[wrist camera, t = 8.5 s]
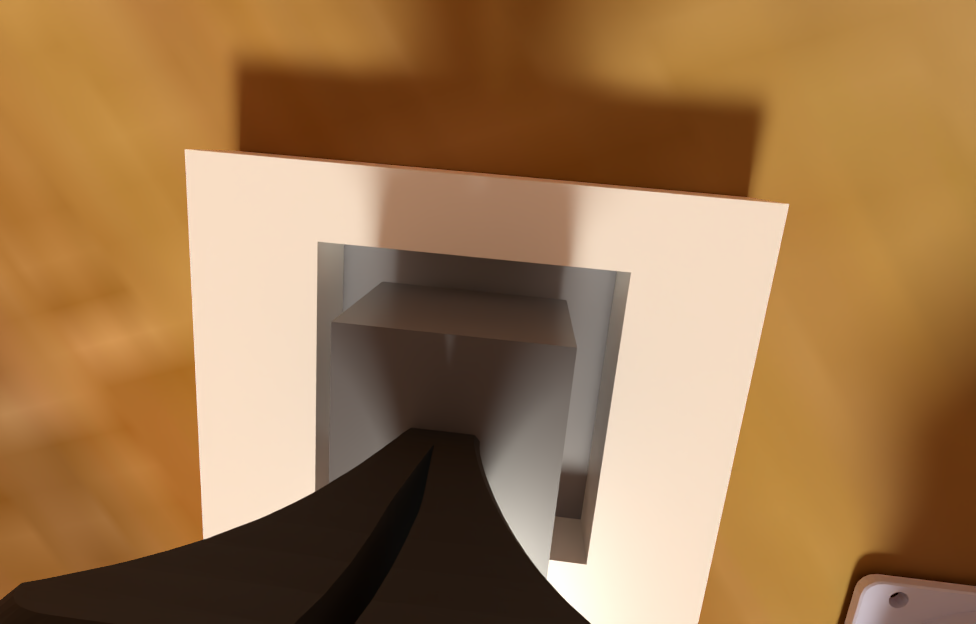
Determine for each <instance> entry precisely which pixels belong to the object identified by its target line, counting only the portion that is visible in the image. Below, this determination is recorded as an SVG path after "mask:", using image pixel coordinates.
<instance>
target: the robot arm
mask: <svg viewBox="0 0 976 624" xmlns="http://www.w3.org/2000/svg"><path fill="white" fill-rule="evenodd" d="M479 447H480V441H479V440H478V438H477V437H476V436H475V435H471V434H462V433H454V432H445V431H436V430H427V429H419V428H410V429H408V430H407V431H405V432H404V433H402V434H401V435H400V436H398V437H397V438H396V439H394V440H393V441H391V442H390V443H389V444H387V445H386V446H385V447H383V448H382V449H381V450H379V451H378V452H376V453H375V454H373V455H372V456H371V457H369V458H368V459H366V460H365V461H363V462H362V463H361V464H359V465H358V466H356V467H355V468H353V469H351V470H350V471H348V472H347V473H345V474H343V475H342V476H340V477H338V478H337V479H335V480H333V481H332V482H330V483H329V484H327V485H325V486H324V487H322V488H320V489H319V490H317V491H315V492H313V493H312V494H310V495H308V496H306V497H304V498H302V499H300V500H298V501H296V502H294V503H292V504H290V505H288V506H286V507H284V508H282V509H280V510H277V511H275V512H273V513H271V514H269V515H267V516H264V517H262V518H260V519H257V520H255V521H252V522H249V523H247V524H244V525H241V526H239V527H236V528H233V529H231V530H228V531H225V532H223V533H220V534H217V535H215V536H212V537H210V538H207V539H204V540H201V541H198V542H195V543H191V544H188V545H185V546H182V547H178V548H175V549H172V550H169V551H165V552H161V553H157V554H154V555H150V556H146V557H143V558H139V559H135V560H131V561H127V562H123V563H119V564H115V565H111V566H106V567H101V568H96V569H91V570H86V571H81V572H76V573H72V574H67V575H62V576H57V577H52V578H47V579H42V580H36V581H31V582H25V583H21V584H20V585H19V586H17V587H16V588H15V589H14V590H12V591H11V592H10V593H9V594H7V595H6V596H5V597H4V598H3V599H1V600H0V624H591V623H590V622H589V621H588V620H586V619H585V618H584V617H583V616H582V615H581V614H580V613H579V612H578V611H577V610H576V609H575V608H573V607H572V606H571V605H570V604H569V603H568V602H567V601H566V600H565V599H564V598H563V597H562V596H561V595H560V594H559V593H558V591H557V590H556V589H555V588H554V587H553V586H552V585H551V584H550V582H549V581H548V580H547V579H546V578H545V577H544V576H543V575H542V574H541V572H540V571H539V570H538V568H537V567H536V566H535V564H534V563H533V562H532V560H531V559H530V558H529V556H528V555H527V554H526V552H525V551H524V549H523V548H522V546H521V545H520V543H519V542H518V540H517V539H516V537H515V535H514V534H513V532H512V530H511V529H510V527H509V525H508V523H507V522H506V520H505V518H504V516H503V514H502V512H501V510H500V508H499V506H498V504H497V502H496V499H495V497H494V495H493V492H492V490H491V487H490V485H489V482H488V480H487V477H486V474H485V471H484V468H483V464H482V460H481V456H480V450H479ZM896 592H899V593H898V595H896V596H895V597H891V598H890V596H891V595H892V594H894V593H896ZM844 624H976V586H970V585H962V584H954V583H946V582H938V581H930V580H922V579H914V578H906V577H898V576H890V575H882V574H870V575H867V576H865V577H863V578H862V579H860V580H859V581H858V583H857V584H856V586H855V589H854V593H853V596H852V599H851V603H850V606H849V609H848V613H847V616H846V620H845V623H844Z"/></svg>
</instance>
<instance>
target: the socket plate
mask: <svg viewBox="0 0 976 624" xmlns="http://www.w3.org/2000/svg"><path fill="white" fill-rule="evenodd" d="M185 163H186V184H187V205H188V226H189V247H190V268H191V289H192V310H193V331H194V351H195V372H196V393H197V414H198V435H199V456H200V477H201V498H202V519H203V540H204V539H207V538H210V537H212V536H215V535H217V534H220V533H223V532H225V531H228V530H231V529H233V528H236V527H239V526H241V525H244V524H247V523H249V522H252V521H255V520H257V519H260V518H262V517H264V516H267V515H269V514H271V513H273V512H275V511H277V510H280V509H282V508H284V507H286V506H288V505H290V504H292V503H294V502H296V501H298V500H300V499H302V498H304V497H306V496H308V495H310V494H312V493H313V492H315V491H317V490H319V489H320V488H322V487H324V486H325V485H327V484H329V433H330V367H331V322H332V321H333V320H334V319H335V318H337V317H338V316H339V315H340V314H342V313H343V312H344V311H346V310H347V309H348V308H349V307H351V306H352V305H353V304H354V303H356V302H357V301H358V300H359V299H361V298H362V297H363V296H365V295H366V294H367V293H368V292H370V291H371V290H372V289H373V288H375V287H376V286H377V285H379V284H380V283H381V282H382V281H383V282H392V283H402V284H412V285H422V286H432V287H442V288H452V289H462V290H472V291H482V292H492V293H502V294H512V295H522V296H532V297H542V298H552V299H561V300H567V305H568V309H569V314H570V318H571V323H572V327H573V332H574V336H575V340H576V345H577V352H576V360H575V367H574V375H573V383H572V390H571V398H570V406H569V413H568V421H567V428H566V436H565V444H564V451H563V459H562V467H561V474H560V482H559V489H558V497H557V505H556V512H555V520H554V527H553V535H552V543H551V550H550V558H549V566H548V573H547V580H548V581H549V582H550V584H551V585H552V586H553V587H554V588H555V589H556V590H557V591H558V593H559V594H560V595H561V596H562V597H563V598H564V599H565V600H566V601H567V602H568V603H569V604H570V605H571V606H572V607H573V608H575V609H576V610H577V611H578V612H579V613H580V614H581V615H582V616H583V617H584V618H585V619H586V620H588V621H589V622H590V623H591V624H698V621H699V616H700V612H701V607H702V603H703V598H704V593H705V589H706V584H707V580H708V575H709V570H710V566H711V561H712V557H713V552H714V547H715V543H716V538H717V534H718V529H719V524H720V520H721V515H722V511H723V506H724V501H725V497H726V492H727V488H728V483H729V479H730V474H731V469H732V465H733V460H734V456H735V451H736V446H737V442H738V437H739V433H740V428H741V423H742V419H743V414H744V410H745V405H746V400H747V396H748V391H749V387H750V382H751V378H752V373H753V368H754V364H755V359H756V355H757V350H758V345H759V341H760V336H761V332H762V327H763V322H764V318H765V313H766V309H767V304H768V299H769V295H770V290H771V286H772V281H773V276H774V272H775V267H776V263H777V258H778V254H779V249H780V244H781V240H782V235H783V231H784V226H785V221H786V217H787V212H788V208H789V204H785V203H779V202H773V201H767V200H762V199H756V198H750V197H740V196H729V195H718V194H707V193H696V192H685V191H674V190H663V189H652V188H641V187H630V186H619V185H608V184H597V183H586V182H575V181H564V180H553V179H542V178H531V177H520V176H508V175H497V174H486V173H475V172H464V171H453V170H442V169H431V168H420V167H409V166H398V165H387V164H376V163H365V162H354V161H343V160H332V159H321V158H310V157H299V156H288V155H277V154H266V153H255V152H244V151H222V150H193V149H185Z"/></svg>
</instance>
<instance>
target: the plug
mask: <svg viewBox="0 0 976 624" xmlns="http://www.w3.org/2000/svg"><path fill="white" fill-rule="evenodd" d="M576 352H577V345H576V340H575V336H574V332H573V327H572V323H571V318H570V314H569V309H568V305H567V300H561V299H552V298H542V297H532V296H522V295H512V294H502V293H492V292H482V291H472V290H462V289H452V288H442V287H432V286H422V285H412V284H402V283H392V282H383V281H382V282H381V283H380V284H379V285H377V286H376V287H375V288H373V289H372V290H371V291H370V292H368V293H367V294H366V295H365V296H363V297H362V298H361V299H359V300H358V301H357V302H356V303H354V304H353V305H352V306H351V307H349V308H348V309H347V310H346V311H344V312H343V313H342V314H340V315H339V316H338V317H337V318H335V319H334V320H333V321H332V322H331V367H330V433H329V483H330V482H332V481H333V480H335V479H337V478H338V477H340V476H342V475H343V474H345V473H347V472H348V471H350V470H351V469H353V468H355V467H356V466H358V465H359V464H361V463H362V462H363V461H365V460H366V459H368V458H369V457H371V456H372V455H373V454H375V453H376V452H378V451H379V450H381V449H382V448H383V447H385V446H386V445H387V444H389V443H390V442H391V441H393V440H394V439H396V438H397V437H398V436H400V435H401V434H402V433H404V432H405V431H407V430H408V429H410V428H419V429H427V430H436V431H445V432H454V433H462V434H471V435H475V436H476V437H477V438H478V440H479V441H480V447H479V450H480V456H481V460H482V464H483V468H484V471H485V474H486V477H487V480H488V482H489V485H490V487H491V490H492V492H493V495H494V497H495V499H496V502H497V504H498V506H499V508H500V510H501V512H502V514H503V516H504V518H505V520H506V522H507V523H508V525H509V527H510V529H511V530H512V532H513V534H514V535H515V537H516V539H517V540H518V542H519V543H520V545H521V546H522V548H523V549H524V551H525V552H526V554H527V555H528V556H529V558H530V559H531V560H532V562H533V563H534V564H535V566H536V567H537V568H538V570H539V571H540V572H541V574H542V575H543V576H544V577H545V578H546V579H547V573H548V566H549V558H550V550H551V543H552V535H553V527H554V520H555V512H556V505H557V497H558V489H559V482H560V474H561V467H562V459H563V451H564V444H565V436H566V428H567V421H568V413H569V406H570V398H571V390H572V383H573V375H574V367H575V360H576Z"/></svg>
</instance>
